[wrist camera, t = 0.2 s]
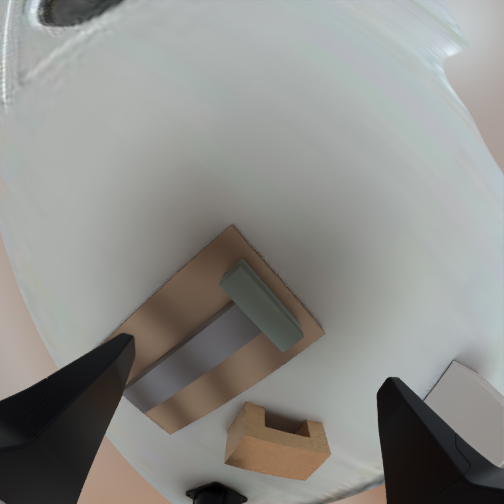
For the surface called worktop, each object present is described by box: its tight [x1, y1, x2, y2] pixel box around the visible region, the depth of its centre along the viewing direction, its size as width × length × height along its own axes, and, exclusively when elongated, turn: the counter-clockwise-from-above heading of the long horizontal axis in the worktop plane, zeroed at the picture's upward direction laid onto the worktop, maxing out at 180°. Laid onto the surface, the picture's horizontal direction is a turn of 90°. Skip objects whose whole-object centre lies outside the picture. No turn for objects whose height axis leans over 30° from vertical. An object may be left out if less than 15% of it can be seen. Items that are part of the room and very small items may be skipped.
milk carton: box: [424, 361, 504, 468], centre depth 17 cm, size 7×7×19 cm
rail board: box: [104, 225, 325, 434], centre depth 23 cm, size 20×12×4 cm, turn 131°
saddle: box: [224, 402, 331, 481], centre depth 25 cm, size 5×9×5 cm, turn 66°
